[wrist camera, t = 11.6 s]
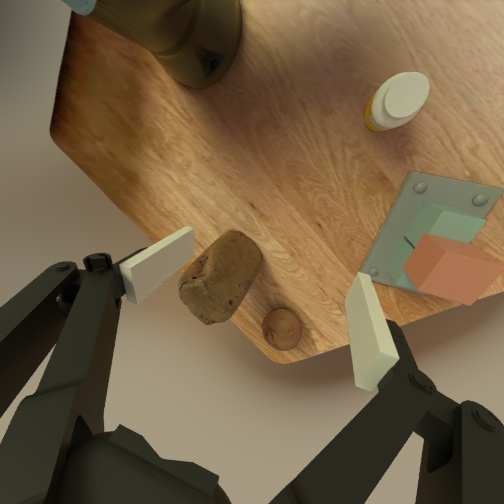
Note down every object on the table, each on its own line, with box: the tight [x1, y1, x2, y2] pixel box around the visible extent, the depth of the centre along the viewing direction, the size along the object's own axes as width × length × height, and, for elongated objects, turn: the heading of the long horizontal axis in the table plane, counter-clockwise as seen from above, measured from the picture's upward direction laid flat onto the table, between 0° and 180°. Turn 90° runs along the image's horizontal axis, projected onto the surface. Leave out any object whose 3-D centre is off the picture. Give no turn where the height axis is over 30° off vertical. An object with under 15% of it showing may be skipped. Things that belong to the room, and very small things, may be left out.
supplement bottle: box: [364, 72, 430, 131], centre depth 26 cm, size 5×5×10 cm
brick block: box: [403, 233, 504, 306], centre depth 27 cm, size 6×6×6 cm
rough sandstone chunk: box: [178, 230, 261, 325], centre depth 39 cm, size 11×8×20 cm
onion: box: [262, 308, 302, 351], centre depth 49 cm, size 10×9×10 cm
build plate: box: [358, 171, 504, 296], centre depth 33 cm, size 20×12×7 cm, turn 170°
